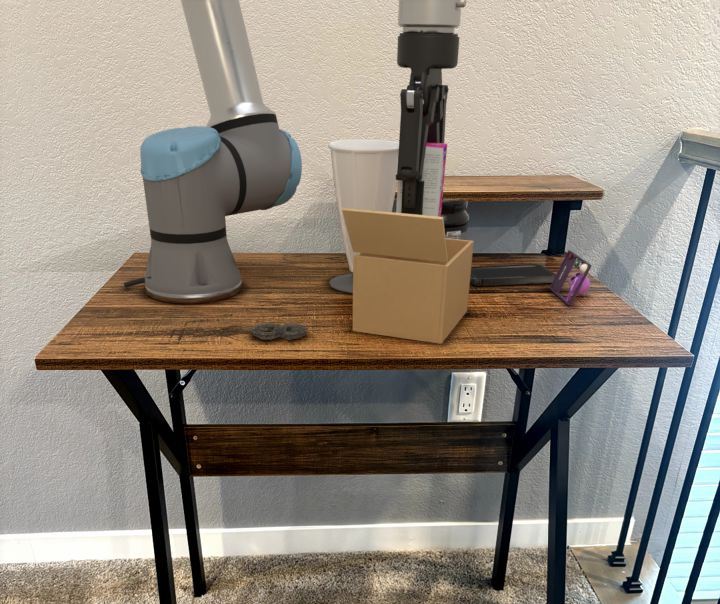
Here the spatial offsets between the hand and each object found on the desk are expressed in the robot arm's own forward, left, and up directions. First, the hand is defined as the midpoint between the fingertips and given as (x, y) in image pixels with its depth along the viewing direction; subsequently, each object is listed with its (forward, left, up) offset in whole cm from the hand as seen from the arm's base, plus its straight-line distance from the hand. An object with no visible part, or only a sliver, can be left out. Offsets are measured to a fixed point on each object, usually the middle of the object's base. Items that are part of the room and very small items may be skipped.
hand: (418, 226), depth 101 cm
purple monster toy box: (+21, +21, -13) cm, 32 cm away
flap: (0, -10, +1) cm, 10 cm away
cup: (-13, +14, -13) cm, 23 cm away
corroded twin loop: (-15, -14, -13) cm, 25 cm away
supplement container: (-5, +31, -13) cm, 34 cm away
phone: (+9, +27, -13) cm, 31 cm away
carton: (0, 0, -13) cm, 13 cm away
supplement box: (0, 0, -1) cm, 1 cm away
